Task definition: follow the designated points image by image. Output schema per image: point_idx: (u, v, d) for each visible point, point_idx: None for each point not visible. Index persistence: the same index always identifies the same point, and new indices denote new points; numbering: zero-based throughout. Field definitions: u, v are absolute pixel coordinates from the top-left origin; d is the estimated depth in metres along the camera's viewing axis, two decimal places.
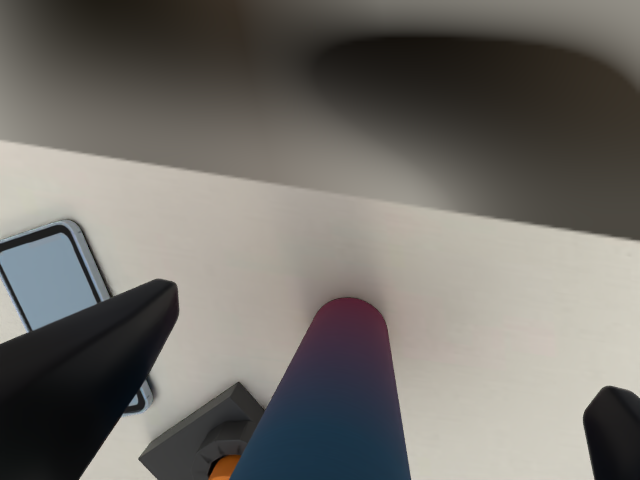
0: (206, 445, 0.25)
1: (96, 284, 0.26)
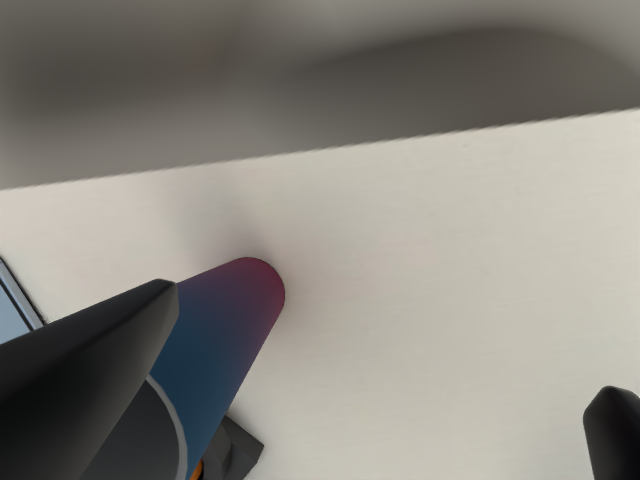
0: None
1: (21, 306, 0.28)
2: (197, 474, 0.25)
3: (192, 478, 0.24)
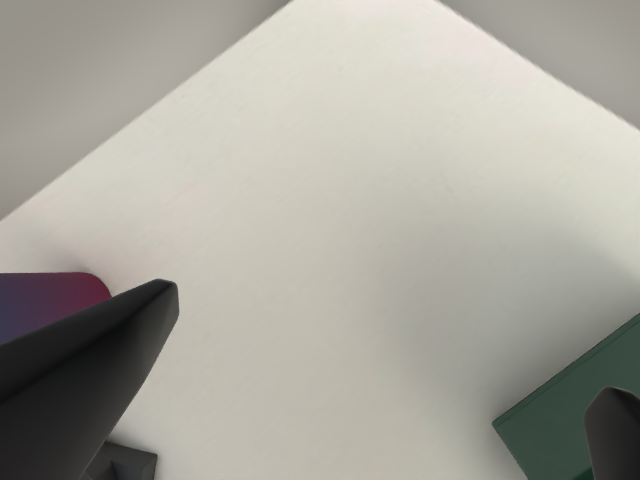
0: None
1: None
2: None
3: None
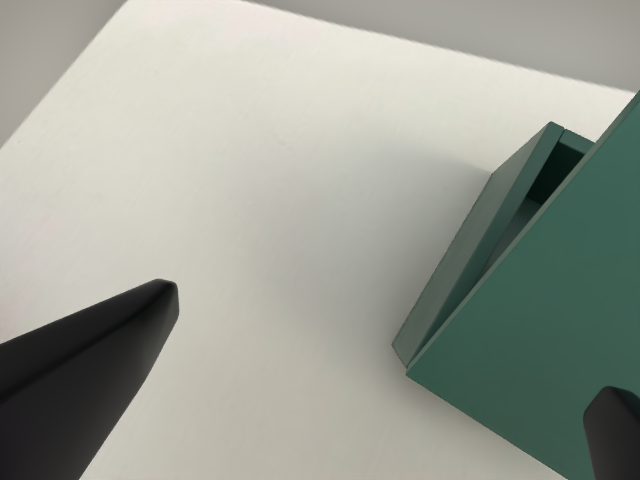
0: None
1: None
2: None
3: None
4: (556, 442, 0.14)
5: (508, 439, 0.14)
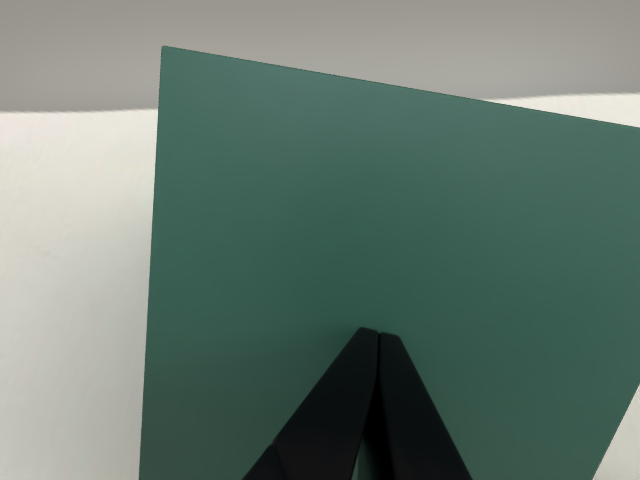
0: None
1: None
2: None
3: None
4: None
5: None
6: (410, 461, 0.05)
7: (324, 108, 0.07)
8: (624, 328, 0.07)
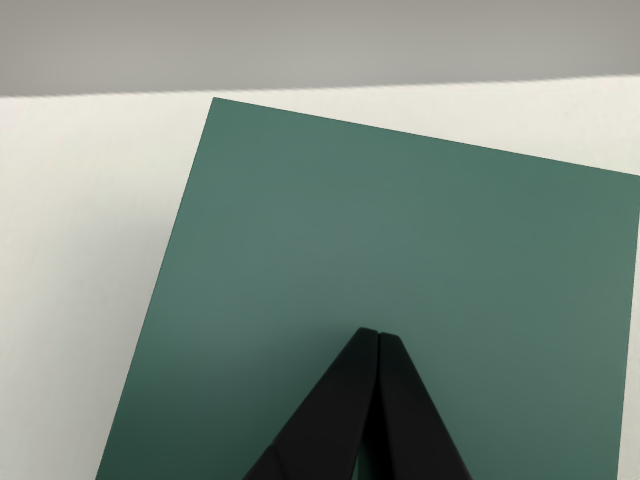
0: None
1: None
2: None
3: None
4: None
5: None
6: (410, 461, 0.05)
7: (334, 141, 0.09)
8: (595, 322, 0.08)
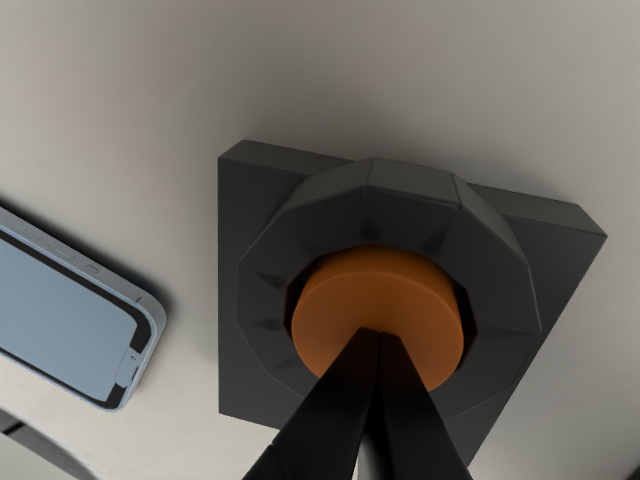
0: (236, 291, 0.09)
1: None
2: (455, 297, 0.08)
3: (454, 306, 0.08)
4: None
5: None
6: (410, 461, 0.05)
7: None
8: None
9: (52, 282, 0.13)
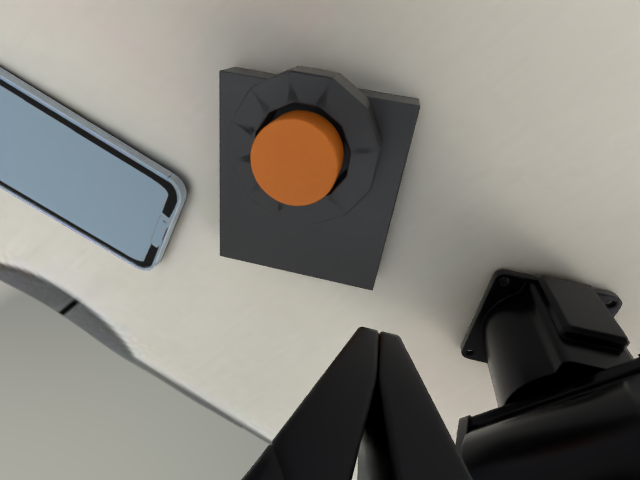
0: (229, 139, 0.17)
1: (19, 87, 0.20)
2: (338, 143, 0.15)
3: (333, 141, 0.15)
4: None
5: None
6: (410, 461, 0.05)
7: None
8: None
9: (115, 167, 0.21)
